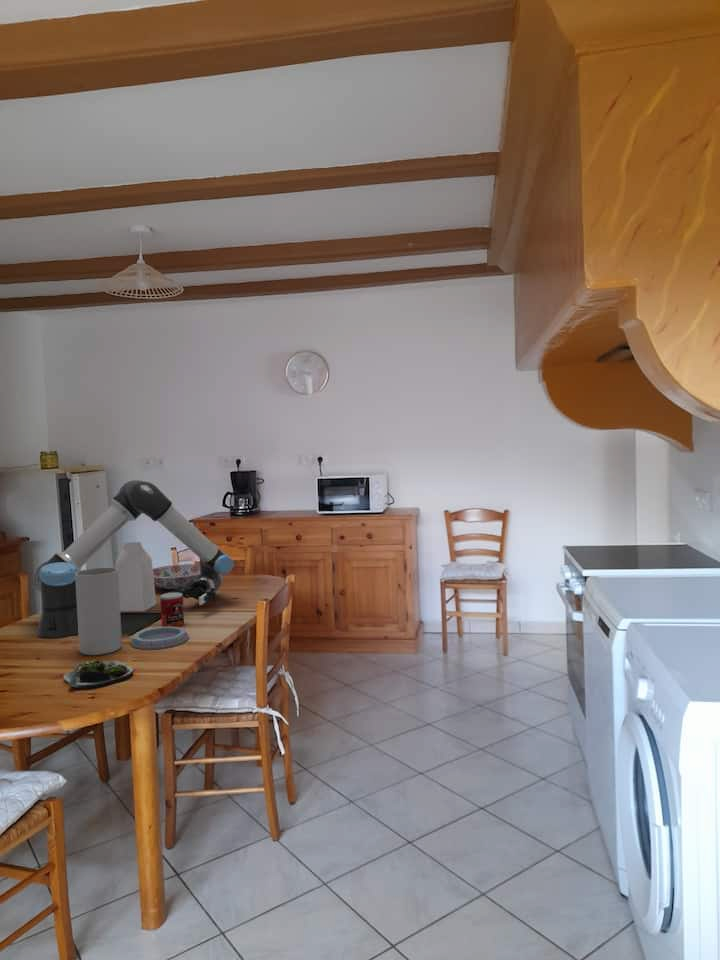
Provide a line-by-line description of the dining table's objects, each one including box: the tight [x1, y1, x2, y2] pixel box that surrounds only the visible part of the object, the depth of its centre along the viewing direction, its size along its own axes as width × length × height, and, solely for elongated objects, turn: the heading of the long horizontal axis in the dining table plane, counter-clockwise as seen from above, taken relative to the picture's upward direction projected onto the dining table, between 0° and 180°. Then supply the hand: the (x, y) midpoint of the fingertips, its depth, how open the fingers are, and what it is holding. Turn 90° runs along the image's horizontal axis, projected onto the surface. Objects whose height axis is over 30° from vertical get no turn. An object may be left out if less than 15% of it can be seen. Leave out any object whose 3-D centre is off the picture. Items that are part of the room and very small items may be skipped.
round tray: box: [130, 626, 189, 651], centre depth 218 cm, size 18×18×2 cm
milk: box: [114, 541, 157, 612], centre depth 263 cm, size 12×12×26 cm
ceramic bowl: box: [153, 563, 201, 590], centre depth 298 cm, size 29×29×8 cm
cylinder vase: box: [75, 567, 123, 656], centre depth 210 cm, size 12×12×25 cm
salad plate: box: [63, 659, 134, 690], centre depth 186 cm, size 19×18×5 cm
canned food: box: [160, 592, 185, 628], centre depth 236 cm, size 8×8×11 cm
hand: (182, 601), depth 244 cm, fingers open, 13 cm apart
